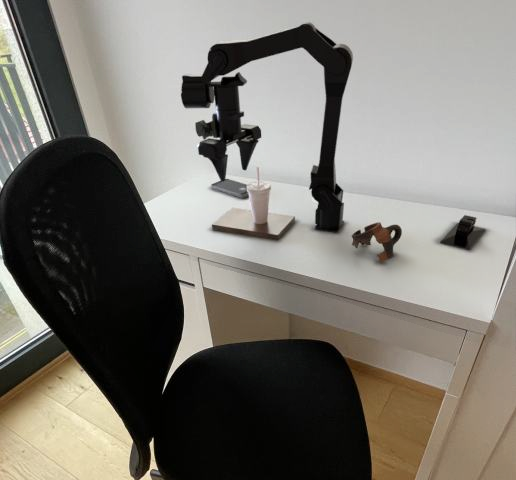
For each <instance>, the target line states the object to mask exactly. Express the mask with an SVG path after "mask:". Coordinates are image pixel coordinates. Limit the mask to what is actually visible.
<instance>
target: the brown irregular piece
mask: <svg viewBox="0 0 516 480" xmlns="http://www.w3.org/2000/svg"><path fill="white" fill-rule="evenodd" d="M363 230H364V231H363V232H362V230H361V229H358V230H356V231H355V232H354V233H352V235H351V239H352V242H351V246H352V247H353V246H354V247H355V249H356V250H358V249H359V248H358V247H359V245H361V246H362V247H363V246H371V245H372V244H371V241H372V238H373V237H374V238H375V241H376V242H377V243H378V244H379V245H380V244H381V245H382V248H383V251H381V252H380V253H377V255H376V257H377V259H378V263H379V264H382V263H384V262H386V261H388V260H390V259H392V257H394V246H395V245H396V244H397V243H398V242H399V241H400V239H401V238H402V234H403V230H402V228H401V226H400V225H398V224H391V225H389V226H386V227H384V226H383V225H382V223H381V222H375V223H371V224H369V225H367V226H365V227H363ZM392 232H394V234H393V236H392Z"/></svg>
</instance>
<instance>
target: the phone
mask: <svg viewBox="0 0 516 480" xmlns="http://www.w3.org/2000/svg"><path fill="white" fill-rule="evenodd" d="M247 185H248V184H247V183H244V182H243V183H242V182H240V181H237V180H233V179H229V178H225V181H224V182H223V181H221V180H218V181H215V182H213V183H211V185H210V188H211V189H213V190H216V191H219V192H222V193H226V194H228V195H231V196H234V197H237V198H241V199H245V198H247V197H249V194H248V192H247Z"/></svg>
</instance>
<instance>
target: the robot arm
mask: <svg viewBox="0 0 516 480" xmlns="http://www.w3.org/2000/svg"><path fill="white" fill-rule="evenodd" d="M298 49H304V50H305V51H306V52H307V54H309V55H310V56H311V57H312V59H314V60H315V61H316V62H317V63H318V64H320V66H322V67H323V79H324V80H323V81H324V90H325V104H324V112H323V120H322V132H321V140H320V141H321V142H320V152H319V158H318V159H319V161H318V164H317V165H315V164H312V168H311V170H310V184H309V186H308V191H309V190H310V192H311V197H312V199H314V200H315V201H316V202H317V208H315V210H314V211H315V212H314V213H315V214H314V215H315V217H314V224H315V225H314V229H315V230H317V231H324V232H331V233H339V231H340V230H341V228H342V227H343V226H344V224H345V220H344V208H345V202H343V197H344V189H343V188H342V187H341V185H339V184H338V183H337V173H336V171H337V169H336V159H335V158H336V153H337V143H338V136H339V127H340V122H341V114H342V113H341V112H342V105H343V97H344V94H345V92H346V91H345V90H346V88H347V83H348V81H349V77H350V73H351V70H352V65H353V61H354V56H353V55H354V54H353V51H352V50H351V47H349V46H348V45H347V44H344V43H337V42H335V41H334V40H332V39H331V38H330V37H329V36H328V35H326V34H325V33H323V31H320V29H318V28H317V27H316V26H315V25H314V24H313V23H312V22H310V21H307V22H303V23H302V24H300V25H297V26H293V27H290V28H287V29H283V30H279V31H276V32H273V33H272V32H271V33H269V34H265V35H261V36H258V37H255V38H251V39H231V40H230V39H229V40H222V41H220V42H217V43H215V44H212V46H211V47H210V48H209V50H208V52H207V64H206V66H205V68H204V70H203V73H202V74H192V73H191V74H190V73H187V74H186V73H185V74H183V75H182V76H181V79H182V83H181V87H180V89H181V91H180V97H181V98H180V99H181V102H182V106H183V107H184V108H185V109H210V108H211V105H212V104H214V105H215V112H214V113H212V115H211V118H212V119H211V120H210V121H208V122H206V121H205V120H204V119H201V120H199V121H197V122H195V123H194V124H195V132H196V134H197V136H198V137H199V138H200V137H201V138H202V140H201V141H199V142H198V144H197V152H198V156H203V158H207V159H208V160H209V161H210V162H211V164H212V166H213V167H214V169H215V171H216V174H217V175H218V177H219V181H223V182H224V181H225V179H227V178H226V177H227V169H228V168H227V166H228V157H229V154H228V153H227V150H228V147H229V146H230V145H232V144H233V145H234V144H236V145H237V147H238V151H239V157H240V165H241V169H242V170H243V171H247V169H248V167H249V164H250V161H251V159H252V156H253V154H254V151H255V149H256V147H257V145H258V143H259V141H260V140H259V139H262V129H261V128H260V127H259V125H256V124H247V123H243V124H242V118H243V117H245V111H243V110H241V105H240V103H241V102H240V91H239V87H243V86H245V85H246V84H247V83H248V80H247V79H246V78H245V77H244V76H243V75H242V73H241V72H240V71H237V73H235V75H234V76H233V75H232V76H226V75H228V74H230V73H232V72H234V71H235V70H238V69H239V68H241V67H243V66H245V65H247V64H249V63H251V62H255V61H258V60H262V59H265V58H268V57H272V56H276V55H280V54H284V53H287V52H291V51H294V50H298ZM221 76H222V77H221ZM218 77H221V80H220V81H213V80H215V79H217V78H218Z"/></svg>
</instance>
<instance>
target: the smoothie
mask: <svg viewBox="0 0 516 480" xmlns="http://www.w3.org/2000/svg"><path fill="white" fill-rule="evenodd" d="M271 190H272V185H271V184H270V183H269V182H267V181H260V167H259V166H257V167H256V181H253V182H250V183H248V184H247V192H248V194H249V196H248V199H249V203H250V208H251V209H250V210H252V214H253V219H254V222H255V223H257V224H263V223H266V222H267V219H268V213H269V205H270V204H269V202H270V192H271Z"/></svg>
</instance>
